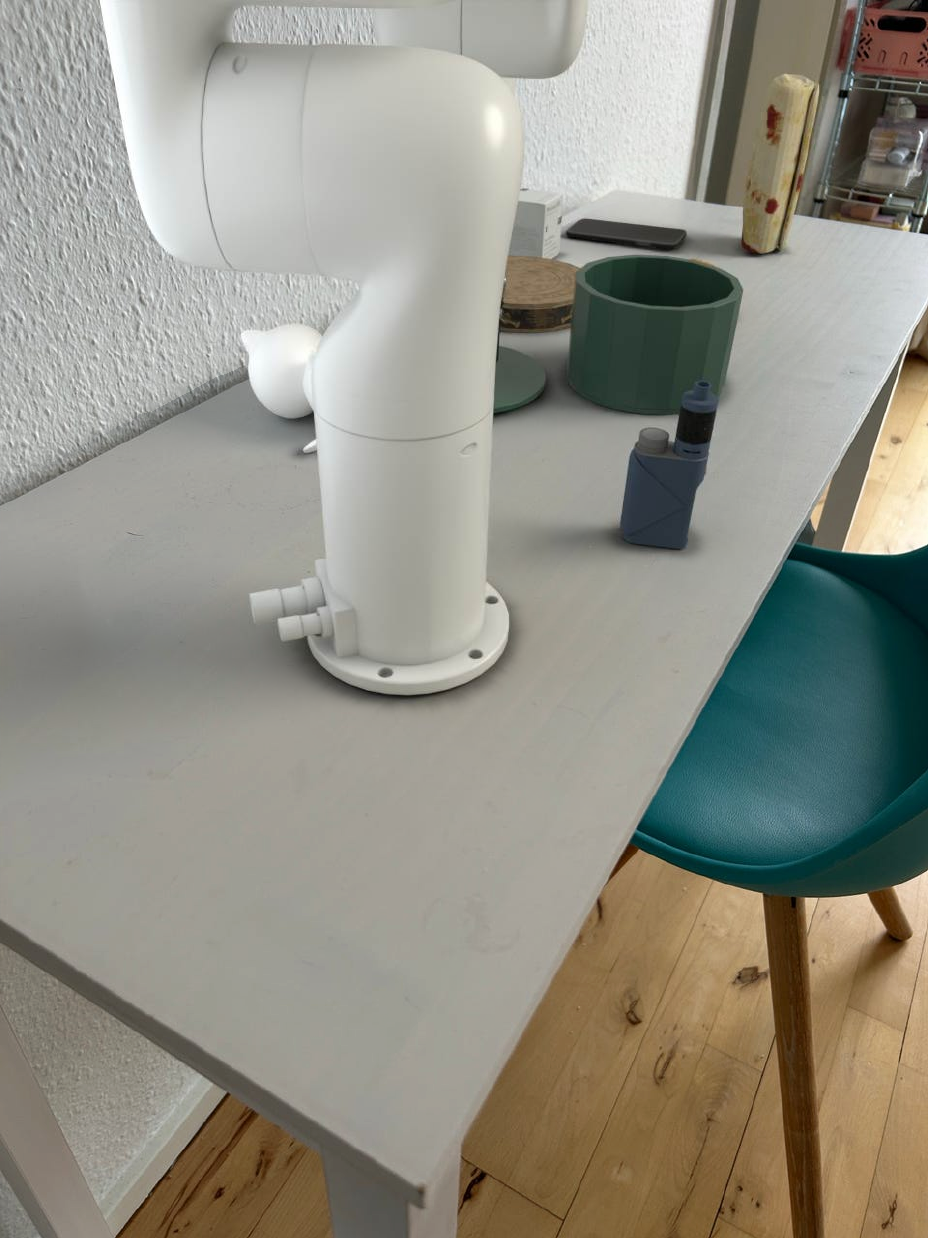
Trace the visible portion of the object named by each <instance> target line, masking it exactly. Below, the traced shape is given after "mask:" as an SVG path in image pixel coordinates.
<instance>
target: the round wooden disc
mask: <svg viewBox="0 0 928 1238" xmlns="http://www.w3.org/2000/svg"><path fill="white" fill-rule="evenodd" d="M580 268H581V267H579V266H577V265H574V264H572V263H568V262H566V261H565V262H564V261H561V260H557V259H554V258H552V259H547V258H539V257H530V256H508V258H507V263H506V270H505V278H506V287H505V291H504V294H503V298H504V299H503V302H504V304H503V306H502V318H501V320H500V332H507V333H529V334H531V333H533V334H535V333H545V332H555V331H560V330H564V329H567V328H571V320H572V309H573V298H574V287H575V276H576V272H577V271H578V270H579V269H580Z"/></svg>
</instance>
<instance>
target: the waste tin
mask: <svg viewBox="0 0 928 1238" xmlns="http://www.w3.org/2000/svg"><path fill="white" fill-rule="evenodd" d="M689 259H690V258H683V257H677V256H670V255H660V254H659V255H657V254H626V255H625V254H624V255H615V256H614V255H613V256H606V257H603V258H600V259H596V260H592V261H588V262H587V263H585V264H584V265H583V266H581V267H579V268H580V269H579V270H578V271H577V272H576V276H575V287H574V298H573V309H572V320H571V327H570V331H569V344H568V355H567V364H566V366H567V367H566V368H567V372H566V373H567V374H566V375H567V376H566V378H567V382H568V384H569V386H570V387H571V388H572V389H573V390H574V391H575V392H576V393H577V394H578V395H580V396H581V397H583V398H584V399H586V400H588V401H590V402H592V403H594V404H597V405H600V406H602V407H604V408H605V407H606V408H609V409H611V410H612V409H613V410H616V411H621V412H627V413H632V414H633V413H634V414H641V415H655V416H656V415H657V416H658V415H676V414H677V415H679V413H680V407H681V401H682V396H683V394H684V393H685V392H687V391H691V390H694V385H695V382H697V381H706V382H709V383H711V390H710V392H711V393H713V394H715V395H716V396H717V397H718V398H720V397H721V394H722V391H723V388H724V387H725V385H726V379H727V374H728V369H729V364H730V358H731V354H732V351H733V350H732V349H733V345H734V344H733V343H734V339H735V334H736V329H737V324H738V320H739V314H740V310H741V304H742V299H743V294H744V288H743V285H742V284H741V282H740V280H739V278H738V277H737V276H735V275H733V274H732V273H730V272H728V271H726V270H725V269H723V268H720V267H719V266H716V265H715V266H716V267H715V266H711V265H708V264H705V263H702V262H699V261H696V260H689ZM718 267H719V268H718Z"/></svg>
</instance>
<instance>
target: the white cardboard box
mask: <svg viewBox="0 0 928 1238" xmlns="http://www.w3.org/2000/svg"><path fill="white" fill-rule="evenodd" d="M563 203H564V194H563V193H561V192H557V191H548V190H541V189H540V190H539V189H533V188H524V187H521V189H520V195H519V200H518V205H517V210H516V216H515V221H514V226H513V231H512V237H511V242H510V247H509V252H508V256H530V257H539V258H547V259H554V258H556V257H557V256H559V254H560V249H561V248H560V247H561V246H560V245H561V233H562V219H563V218H562V217H563Z"/></svg>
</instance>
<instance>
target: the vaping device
mask: <svg viewBox="0 0 928 1238" xmlns="http://www.w3.org/2000/svg"><path fill="white" fill-rule="evenodd" d="M710 390H711V383H709V382H706V381H697V382H695V385H694V390H691V391H687V392H685V393H684V394H683V396H682V401H681V407H680V413H678V418H677V419H678V420H677V426H676V431H675V437H674V441H672V440H671V441H670V440H669V439H670V433H669V432H668V431H666V430H665V429H662V428H659V427H652V426H651V427H645V428H642V429H640V431H639V434H638V440H637V441H635V443H634V446H633V449H632V450H631V451H630V454H629V458H628V465H627V473H626V479H625V484H624V485H625V486H624V492H623V499H622V506H621V507H622V508H621V513H620V522H619V527H620V531H621V536H622V538H623V539H624V540H625V541H626V542H628V543H630V544H635V545H643V546H651V547H659V548H667V549H677V550H682V549H686V547H687V545H688V544H689V537H688V535H689V531H690V525H691V520H692V515H693V510H694V506H695V505H694V504H695V501H696V495H697V490H698V489H699V487H700V486H701V484H702V483H703V481H704V479H705V475H706V474H707V470H708V469H707V468H708V467H707V465H708V460H709V457H710V447H711V441H712V437H713V431H714V427H715V422H716V416H717V411H718V406H719V402H720V397H717V396H716V395H715V394H713V393H711V392H710Z"/></svg>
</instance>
